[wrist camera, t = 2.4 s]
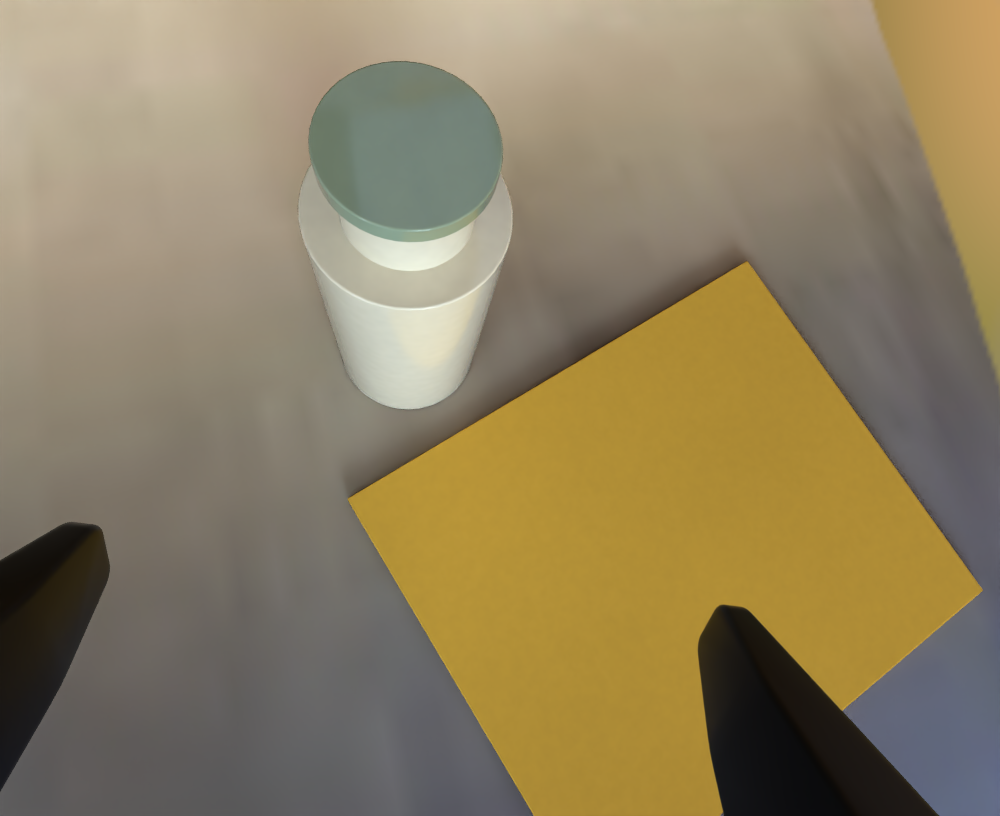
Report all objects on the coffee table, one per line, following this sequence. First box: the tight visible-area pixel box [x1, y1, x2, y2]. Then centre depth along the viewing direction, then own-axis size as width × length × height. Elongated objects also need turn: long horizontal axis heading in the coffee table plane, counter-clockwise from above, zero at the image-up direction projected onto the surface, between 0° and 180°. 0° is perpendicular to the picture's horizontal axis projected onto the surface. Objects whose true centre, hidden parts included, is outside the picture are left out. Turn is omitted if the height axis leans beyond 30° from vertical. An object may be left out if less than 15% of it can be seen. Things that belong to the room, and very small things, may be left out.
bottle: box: [298, 61, 513, 409], centre depth 19 cm, size 5×5×12 cm
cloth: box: [348, 261, 983, 816], centre depth 24 cm, size 19×16×1 cm
